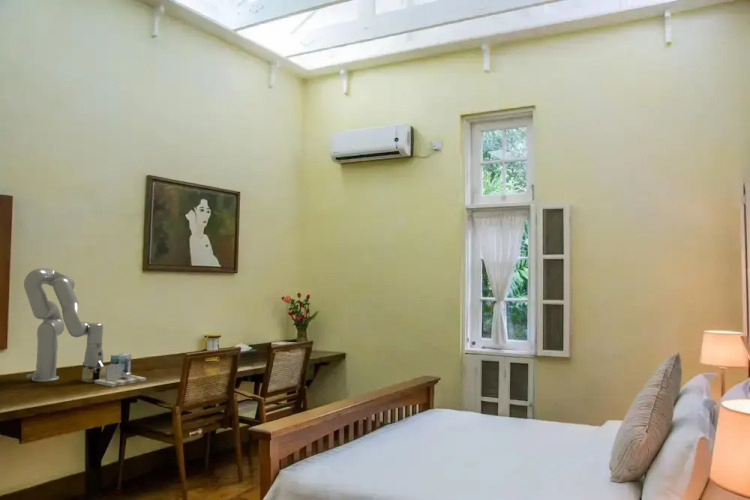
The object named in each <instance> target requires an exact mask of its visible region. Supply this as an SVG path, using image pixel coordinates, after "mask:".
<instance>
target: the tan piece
mask: <svg viewBox="0 0 750 500" xmlns="http://www.w3.org/2000/svg"><path fill="white" fill-rule="evenodd" d="M106 366H107V365H103V368H102V370H101V372H100V374H99V379H105V378H106ZM96 369H98V368H96ZM94 373H95V371H94V367H86V368H84V367H82V371H81V374H82V375H81V382H85V383H93V382H94V383H95V380H93V378H94Z"/></svg>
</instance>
